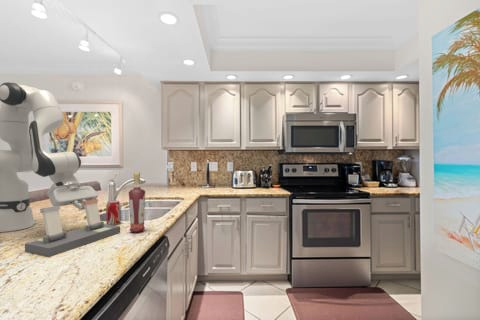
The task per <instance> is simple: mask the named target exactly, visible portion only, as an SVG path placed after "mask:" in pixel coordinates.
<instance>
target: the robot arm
mask: <svg viewBox="0 0 480 320" xmlns="http://www.w3.org/2000/svg"><path fill="white" fill-rule="evenodd" d="M0 102H1V106H0V140H1V141H3V142H6V143H7V144H8V146H9V147H10V149H7V150H5V149H0V233H5V232H7V233H8V232H15V231H20V230H25V229H28V228H32V227H33V226H34V225H36V224H37V221H34V213H33V209H32V208H31V207H30V206H31V205H30V203H31V201H30V198H29V184H28V183H27V181H25V180H23V179H21V178H19V176H18V173H21V172H25V173H26V172H32V171H33V173H34V174H36V175H38V176H41V177H42V178H45V177H46V178H47V177H49V179H50V180H51V182H53V183H52V185H51V186H50V187H49V189H48V191H47V192H46V195H47V197H48V199H49V201H50V203H51V205H52V207H53V206H59V205H60V207H64V206H70V205H72V206H73V207H75V208H77V209H78V210H79V211H82V210H83V211H84V210H85V206H84V205H83V203H82V202H84V201H88V200H94V199H98V197H99V194H98V192H97V191H96V190H95V189H94V187H92V186H91V185H88V184H80V182H79V181H78V178H76V176H75V174H76V173H77V172H78V171H79V168H81V165H82V160H81V158H80V156H79V154H77V153H76V152H75V151H70V150H69V151H60V152H51V153H50V152H47V151H46V149H45V141H44V135H46V134H48V133H51V132H54V131H56V130H57V129H59V128H60V127H61V126H62V125H63V123H64V120H65V119H64V113H63V112H62V110H61V106H60V105H59V102H58V101H57V99H56V98H55V95H54V94H53V93H52V92H50V91H48V90H45V89H40V88H37V87H34V86H30V85H24V84H18V83H15V82H9V81H8V82H2V83H1V84H0ZM31 112H32V114H33V116H34V117H33V121H31V122H30V123H29V115H30V113H31Z"/></svg>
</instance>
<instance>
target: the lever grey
mask: <svg viewBox="0 0 480 320" xmlns="http://www.w3.org/2000/svg"><path fill="white" fill-rule="evenodd" d="M39 210H40V211H39V212H40V214H42V219H43V223H44V229H45V230H44V231H45V234H46V236H47V237H49V241H53V240H56V239H60V238H63V237H64V233H63V231H64V230H63V226H62V221H61V220H62V219H61V216H60V210H61V206H60V205H59V206H53V205H52V206H49V207H43V208H40V209H39Z"/></svg>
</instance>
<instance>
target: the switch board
mask: <svg viewBox="0 0 480 320" xmlns="http://www.w3.org/2000/svg"><path fill="white" fill-rule="evenodd" d="M101 223H102V226H101V227H98V228H95V229H91V230H90V225H88V224H87V225H85V226H84V227H81V228H78V229H73V230H70V231H65V230H62V231H63V233H64V237H63V238H60V239H56V240H53V241H49V237H47V236H45V235H44V236H42V238H38V239H36V240H33V241H32V240H31V241H29V242H25V243H24V252H26V253H30V254H35V255H40V256H44V257H48V258H50V257H53V256H56V255H58V253H59V254H62V253H64V252H67V251H70V249H71V250H73V249H76V248H79V247H82V246H85V245H88V244H90V243H94V242H97V241H99V240H102V239H105V238H109V237H111V236H115V235H117V234H120V233H121V226H120V225H108V224H107V223H106V224H105V221H101Z"/></svg>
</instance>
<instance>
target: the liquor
mask: <svg viewBox="0 0 480 320" xmlns="http://www.w3.org/2000/svg"><path fill="white" fill-rule="evenodd" d="M140 177H141V172H138V171H137V172H133V179H134V181H133V188H132V189H131V190H130V191H128V205H129V207H128V208H129V219H130V220H129V221H130V224H129V225H130V226H129V231H130V232H132V233H134V234H137V233H142V232H143V231H144V230H145V229H146V227H145V207H146V206H145V205H146V191H145V190H144V189H142V188H141V183H140Z"/></svg>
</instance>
